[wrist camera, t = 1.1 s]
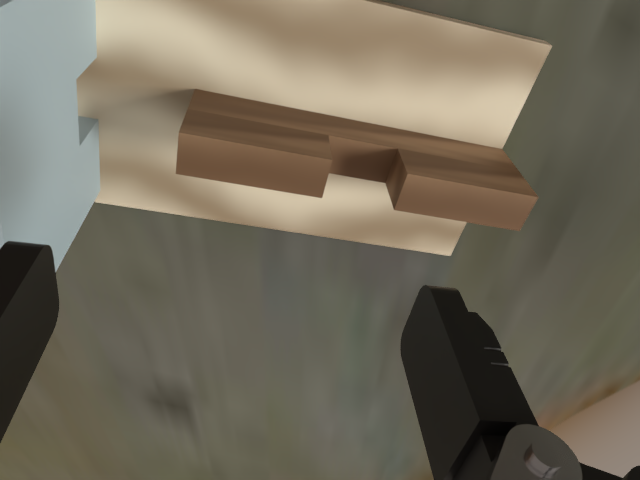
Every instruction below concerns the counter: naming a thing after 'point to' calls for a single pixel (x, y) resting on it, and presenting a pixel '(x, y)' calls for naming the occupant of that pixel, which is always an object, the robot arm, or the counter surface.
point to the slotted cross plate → (46, 122)
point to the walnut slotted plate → (349, 159)
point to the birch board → (296, 100)
